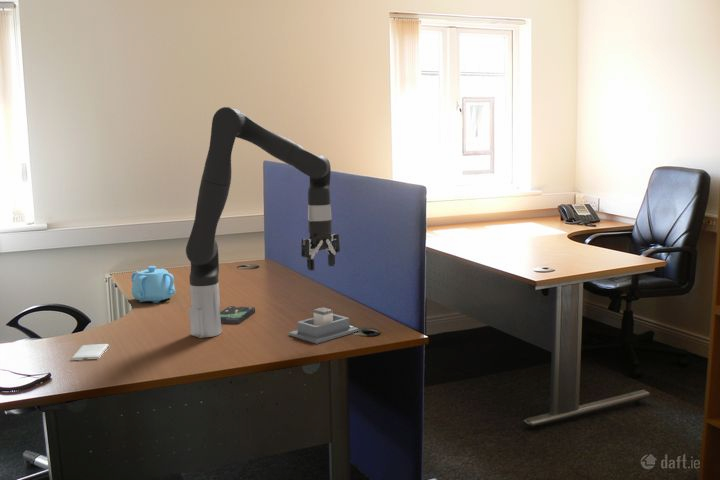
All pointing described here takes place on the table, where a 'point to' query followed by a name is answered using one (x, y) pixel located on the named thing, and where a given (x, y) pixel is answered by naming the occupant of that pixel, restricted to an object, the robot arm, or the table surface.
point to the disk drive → (236, 314)
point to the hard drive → (90, 351)
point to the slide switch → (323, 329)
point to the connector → (322, 316)
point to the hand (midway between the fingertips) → (321, 268)
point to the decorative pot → (152, 285)
